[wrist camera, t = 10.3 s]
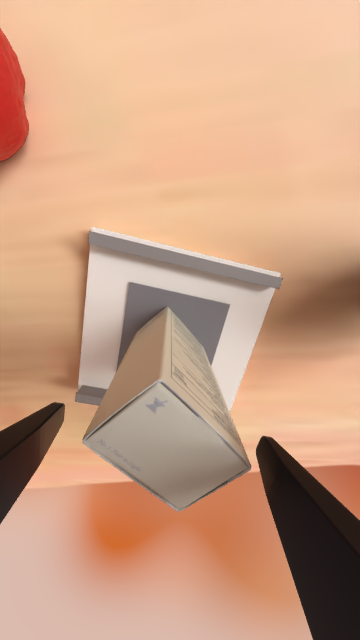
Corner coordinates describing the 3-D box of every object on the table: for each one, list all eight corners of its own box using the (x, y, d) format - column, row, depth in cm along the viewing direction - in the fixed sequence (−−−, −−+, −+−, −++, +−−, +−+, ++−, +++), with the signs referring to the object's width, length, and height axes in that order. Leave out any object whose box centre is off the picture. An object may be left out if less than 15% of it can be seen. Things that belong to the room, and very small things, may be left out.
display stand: (273, 272, 19) (290, 273, 16) (223, 411, 24) (230, 430, 21) (98, 229, 18) (83, 222, 15) (83, 386, 22) (70, 404, 20)
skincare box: (136, 331, 19) (70, 439, 7) (169, 303, 18) (157, 373, 6) (175, 372, 20) (176, 519, 8) (207, 348, 19) (256, 472, 8)
